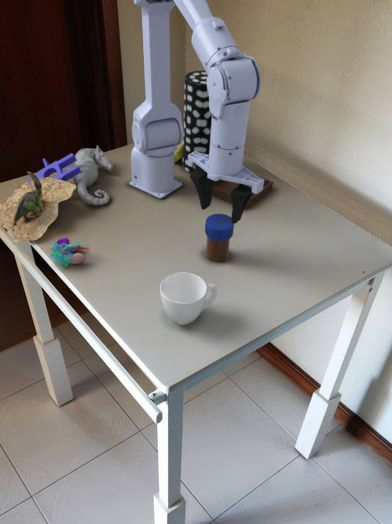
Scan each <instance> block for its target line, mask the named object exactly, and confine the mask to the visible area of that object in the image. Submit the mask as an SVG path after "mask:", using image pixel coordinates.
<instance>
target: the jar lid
mask: <svg viewBox="0 0 392 524" xmlns="http://www.w3.org/2000/svg"><path fill="white" fill-rule="evenodd" d="M204 224H205V225H204V233H205V236H206V238H207V237H208V238H210V239H212V240H215V241H226V240H228V239H230V240H231V238H232V237H233V236H234V228H235V224H234V223H232V222H231V216H230V215H228V214H225V213H213V214H209V215H208V216H207V217H206V219H205V223H204Z"/></svg>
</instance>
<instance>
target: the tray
mask: <svg viewBox="0 0 392 524" xmlns="http://www.w3.org/2000/svg"><path fill="white" fill-rule="evenodd" d="M256 175H257V176H258V177H260V178H262V179H264V185H263V190H262V191H261V192H259V193H258V194H253V195H252V197H251V198H250V200H249V201H248V203H247V205H246V207H245V209H244V210H248V209H249V208H250V207H251V206H253V205H254V204H255V203H257V202H258V201H259V200H260V199H262V198H263V197H264V196H265V195H267V194H268V193H269V192H271V191H272V190H273V189H274V188H273V187H274V181H273V180H270V179H268V178H265V177H263V176H259V175H258V174H256ZM238 185H239V184H237V183H234V182H230V181H225V180H218V181H214V183H213V189H212V196H214V197H216V198H219V199H221V200H224V201H226V202H228V203H230V204H232V197H231V191H232V190H234V189H235V188H236V187H238Z"/></svg>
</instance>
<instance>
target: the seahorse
mask: <svg viewBox="0 0 392 524" xmlns="http://www.w3.org/2000/svg"><path fill="white" fill-rule="evenodd" d="M74 156H75V157H76V159H77V161H75V162H74V166H75V165H77V166H78V167H79V168H80V169H81V173H79V174H78V175H76V176H74V177H72V178H71V179H73V183H74V184H75V186H76V189H77V190H76V191H77V192H78V196H79V197H80V198H81V200H82V201H83V202H85V203H87V204H88V205H93V206H103V205H105V204H108V203H109V202H110V196H109V193H108V192H106V191H105V190H102V189H100V188H99V189H97V190H96V191H94V195H95V196H93V195H91V194H90V193H88V192H89V191H88V190H87V188H88V187H91V186H93V184H94V183H95V182H96V181H97V180H98V177H99V170H98V165H99V166H101V167H102V168H103V169H105V170H107V171H108V172H109V173H111V172H112V171H113V166H114V165H113V164H111V163H110V161H109V160H108V158H107V156H106V154H105V153H104V151H103V150H101V148H100V146H99V145H96V148H87V147H86V148H81V149H79V150H78V151H77V152H76V153H75V155H74ZM70 168H71V167H68V166H67V167H65V170H64V172H65V171H67V170H68V169H70Z"/></svg>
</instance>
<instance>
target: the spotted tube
mask: <svg viewBox="0 0 392 524" xmlns="http://www.w3.org/2000/svg"><path fill="white" fill-rule="evenodd" d="M207 77H208V75H207V73H206V71H205V70H202V69H201V70H193V71H189V72H187V73H186V74H185V75H184V93H183V94H184V96H183V99H184V100H183V129H184V137H183V140H182V141H183V159H182V168H183V169H184V170H185V171H187V172H188V173H191V172H193V171H194V169H195V166H193V167H191V166H188V155H189V154H191V153H192V152H194V151H196V152H199V153H202V154H207V155H209V152H210V137H211V122H212V113H211V112H210V108H209V94H208V90H207Z"/></svg>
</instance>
